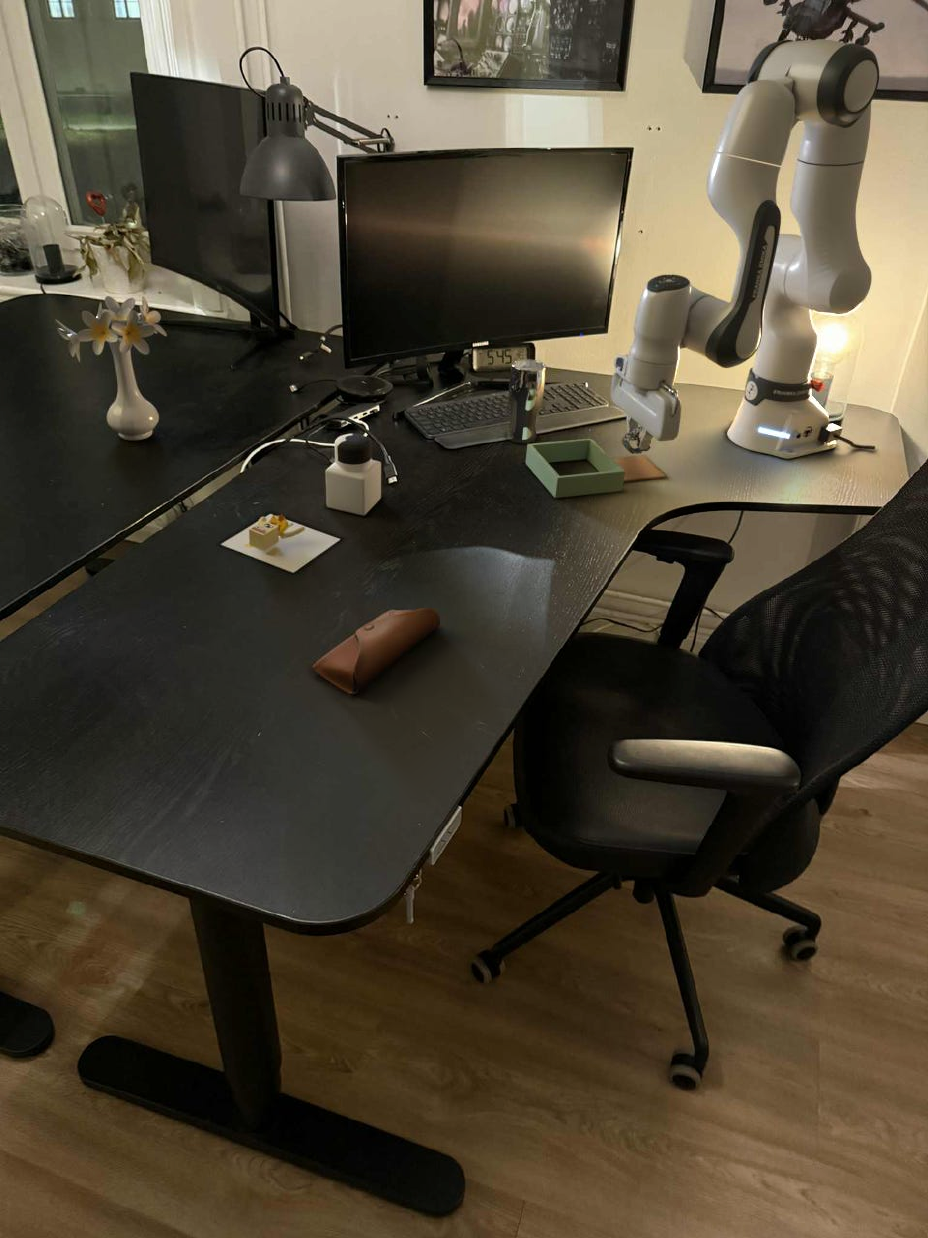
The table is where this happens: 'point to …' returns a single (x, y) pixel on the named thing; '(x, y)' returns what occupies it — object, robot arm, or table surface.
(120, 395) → the flower vase
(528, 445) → the tray
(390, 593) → the table surface
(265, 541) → the miniature model
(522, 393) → the shiny metal tumbler
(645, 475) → the cork pad
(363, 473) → the medicine bottle
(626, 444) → the wristwatch
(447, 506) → the table surface
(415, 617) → the sunglasses case
